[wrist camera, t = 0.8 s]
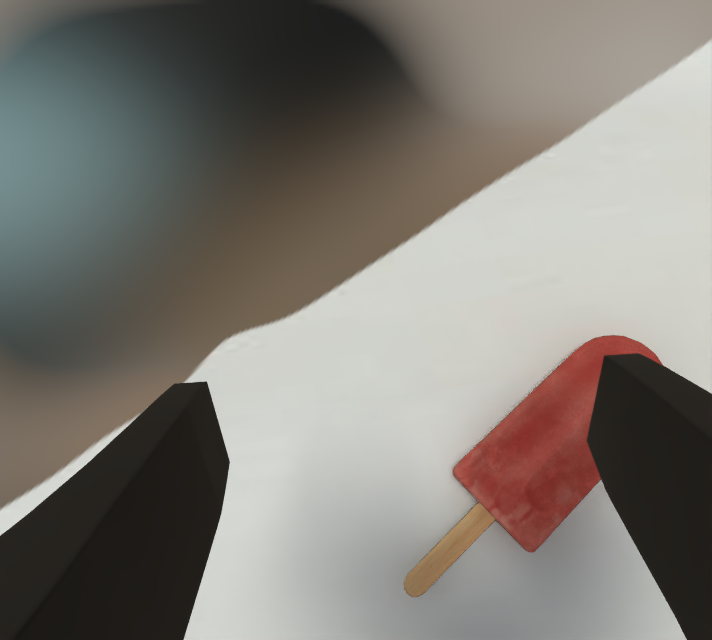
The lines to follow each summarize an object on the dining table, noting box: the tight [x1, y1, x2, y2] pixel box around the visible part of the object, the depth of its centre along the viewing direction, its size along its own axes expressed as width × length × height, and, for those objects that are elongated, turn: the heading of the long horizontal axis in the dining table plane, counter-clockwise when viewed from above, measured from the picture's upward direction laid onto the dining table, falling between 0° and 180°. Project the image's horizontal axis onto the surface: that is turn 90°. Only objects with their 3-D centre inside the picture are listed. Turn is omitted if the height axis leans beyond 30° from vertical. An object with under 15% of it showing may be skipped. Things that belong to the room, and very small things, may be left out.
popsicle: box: [404, 335, 663, 597], centre depth 22 cm, size 4×2×15 cm
